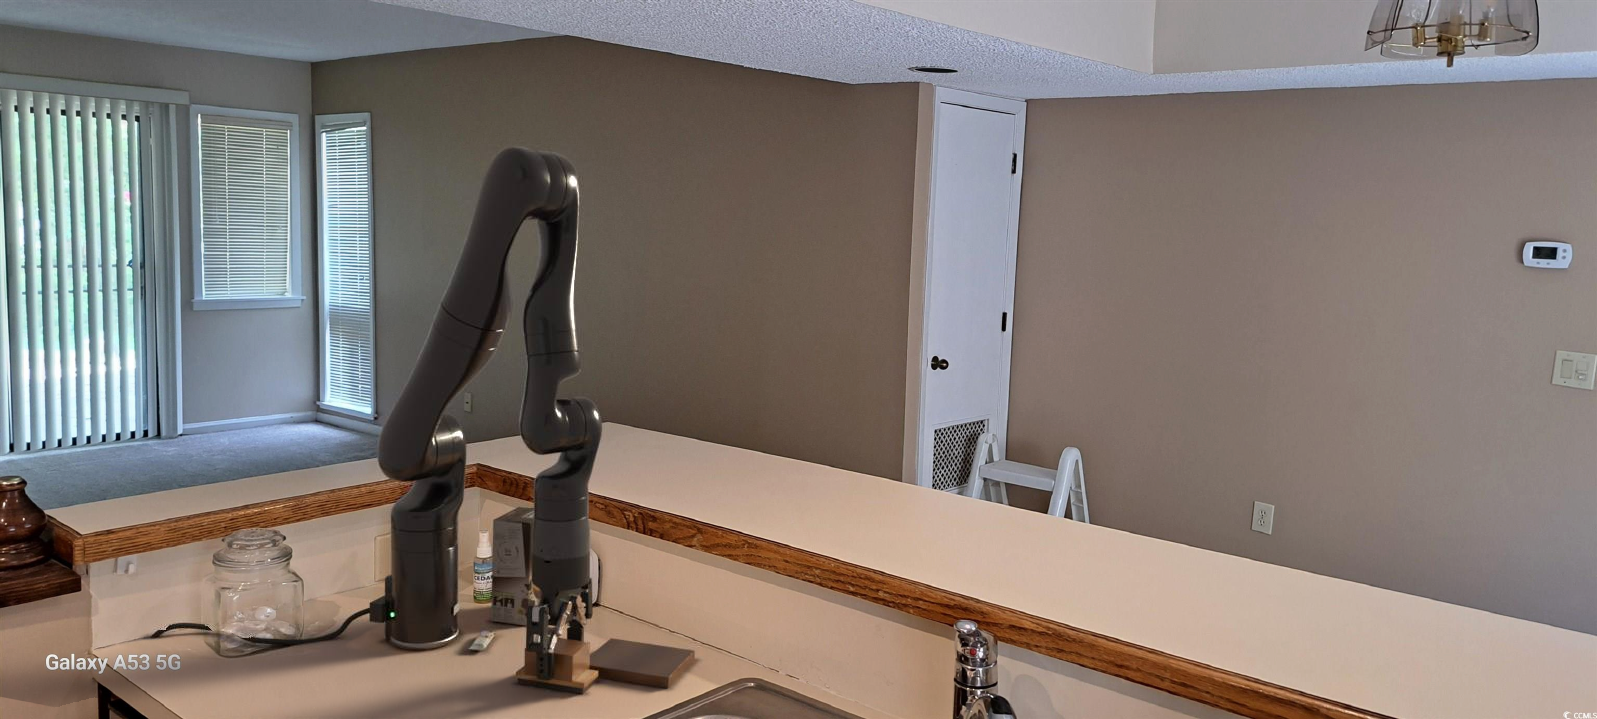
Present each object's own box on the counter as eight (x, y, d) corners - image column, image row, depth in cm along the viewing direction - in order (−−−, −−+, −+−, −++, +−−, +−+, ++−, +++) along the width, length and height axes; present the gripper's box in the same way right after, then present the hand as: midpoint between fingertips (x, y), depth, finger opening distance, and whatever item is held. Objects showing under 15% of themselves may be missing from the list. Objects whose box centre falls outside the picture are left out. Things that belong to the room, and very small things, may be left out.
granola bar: (484, 653, 151) (484, 646, 151) (468, 652, 151) (468, 645, 151) (497, 635, 158) (497, 628, 157) (481, 634, 158) (481, 628, 157)
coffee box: (529, 626, 162) (530, 523, 160) (489, 621, 163) (490, 518, 161) (554, 606, 171) (556, 508, 169) (517, 602, 172) (518, 504, 170)
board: (579, 673, 145) (579, 663, 145) (610, 647, 155) (611, 637, 155) (668, 688, 142) (668, 677, 142) (694, 660, 152) (695, 650, 152)
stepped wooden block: (513, 684, 141) (514, 646, 141) (532, 669, 146) (533, 633, 146) (582, 695, 139) (583, 657, 138) (599, 680, 144) (600, 643, 143)
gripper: (560, 531, 148) (560, 643, 150) (507, 560, 135) (507, 683, 136) (610, 536, 146) (609, 650, 148) (561, 566, 133) (561, 691, 134)
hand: (560, 666), depth 142 cm, fingers open, 8 cm apart
